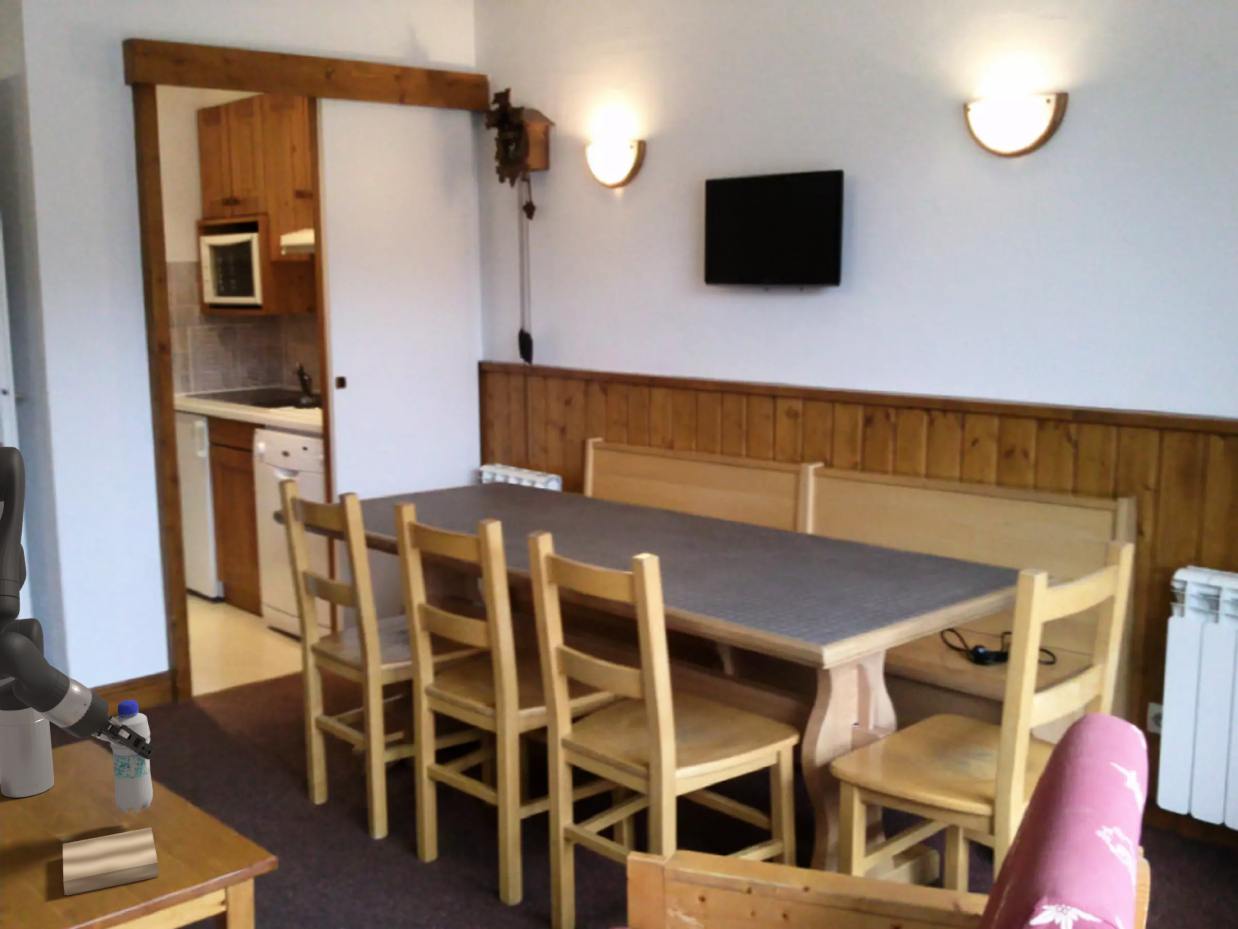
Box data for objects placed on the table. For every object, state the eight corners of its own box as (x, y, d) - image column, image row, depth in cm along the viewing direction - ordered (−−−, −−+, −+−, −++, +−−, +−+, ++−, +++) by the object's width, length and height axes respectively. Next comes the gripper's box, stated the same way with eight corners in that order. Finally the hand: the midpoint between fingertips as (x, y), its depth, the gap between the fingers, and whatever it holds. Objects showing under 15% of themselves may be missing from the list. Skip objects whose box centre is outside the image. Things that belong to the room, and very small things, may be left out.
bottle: (158, 811, 213) (151, 703, 209) (117, 820, 209) (110, 710, 206) (150, 796, 218) (144, 691, 215) (111, 805, 215) (103, 698, 212)
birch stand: (63, 857, 203) (62, 844, 203) (152, 841, 209) (151, 827, 208) (64, 896, 191) (63, 881, 190) (158, 876, 196) (157, 862, 196)
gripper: (110, 695, 200) (175, 740, 211) (62, 678, 208) (128, 722, 219) (82, 735, 196) (150, 778, 208) (34, 716, 204) (103, 759, 216)
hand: (138, 749), depth 213 cm, fingers closed on bottle, 6 cm apart
